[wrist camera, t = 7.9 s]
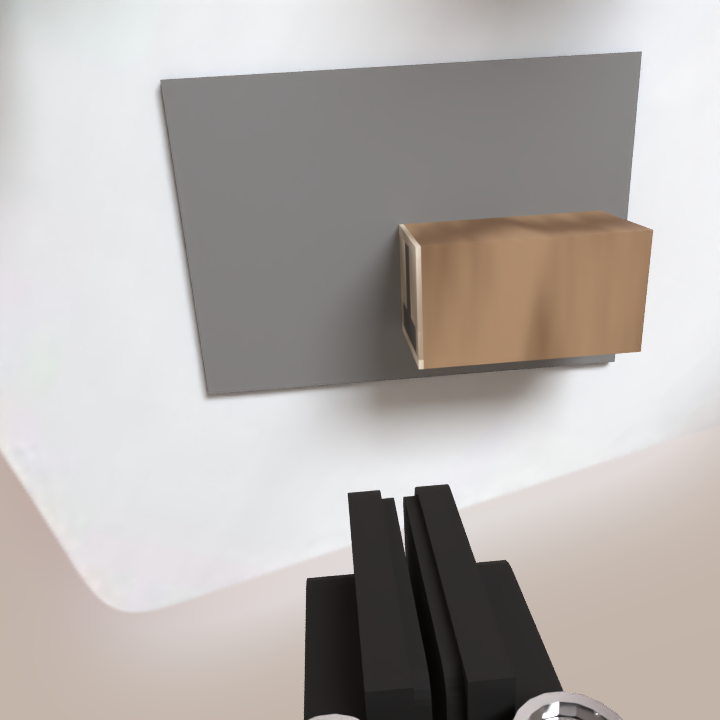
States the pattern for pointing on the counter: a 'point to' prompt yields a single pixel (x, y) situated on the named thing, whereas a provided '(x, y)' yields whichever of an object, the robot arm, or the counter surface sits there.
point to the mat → (373, 196)
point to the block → (523, 288)
